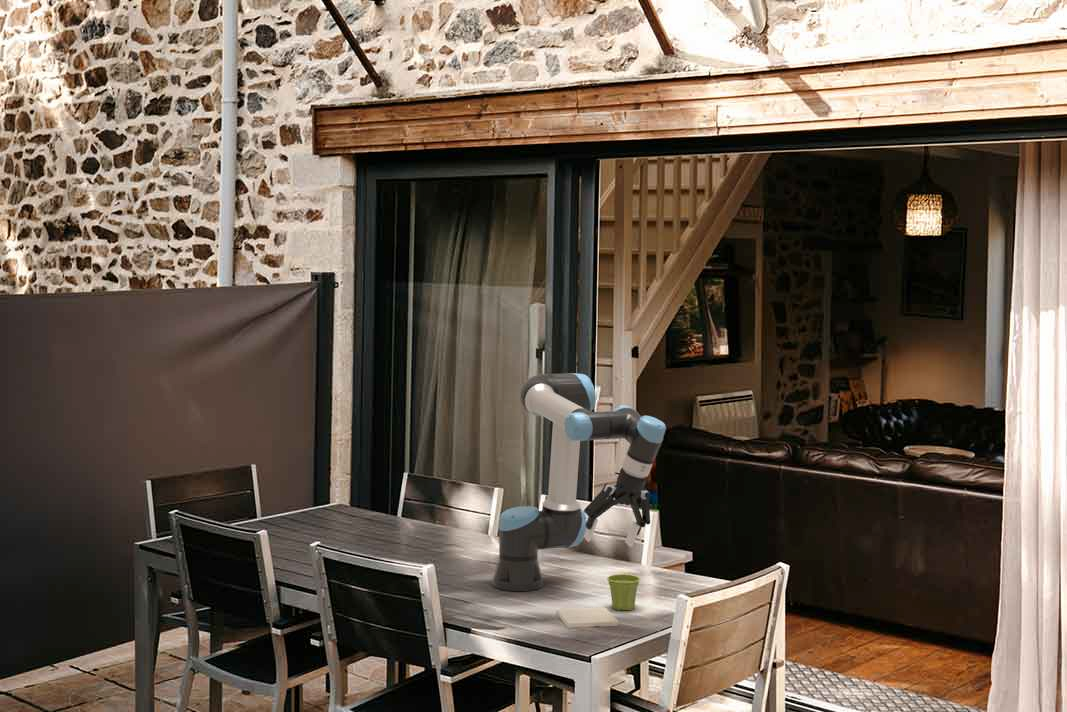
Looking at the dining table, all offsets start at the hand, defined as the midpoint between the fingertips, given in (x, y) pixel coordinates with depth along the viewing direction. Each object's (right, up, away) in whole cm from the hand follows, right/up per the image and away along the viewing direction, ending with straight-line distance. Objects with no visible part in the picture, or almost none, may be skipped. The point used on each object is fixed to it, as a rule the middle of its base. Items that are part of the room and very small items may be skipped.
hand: (607, 542), depth 338 cm
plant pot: (+5, -21, +15) cm, 27 cm away
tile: (-6, -22, +3) cm, 22 cm away
